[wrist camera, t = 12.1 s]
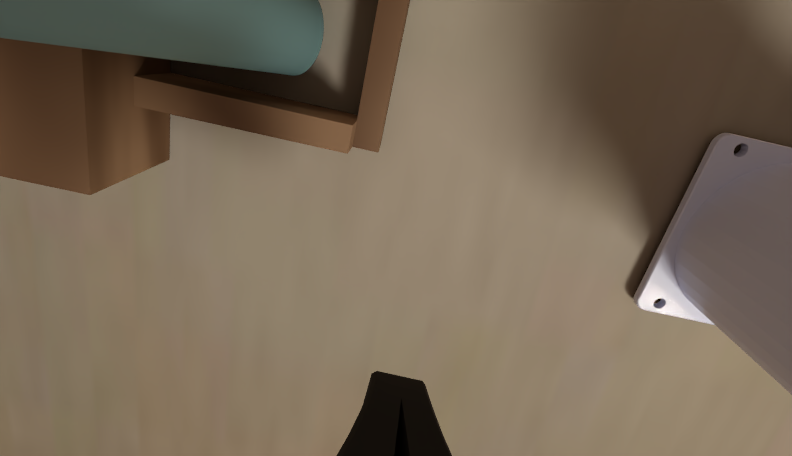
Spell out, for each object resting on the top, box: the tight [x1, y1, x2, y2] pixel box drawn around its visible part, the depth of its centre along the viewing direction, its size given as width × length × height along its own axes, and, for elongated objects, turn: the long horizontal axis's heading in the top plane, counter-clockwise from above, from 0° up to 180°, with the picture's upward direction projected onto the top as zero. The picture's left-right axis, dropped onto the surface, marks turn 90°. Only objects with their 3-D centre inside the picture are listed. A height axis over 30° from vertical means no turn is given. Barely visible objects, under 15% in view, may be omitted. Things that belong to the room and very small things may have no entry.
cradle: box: [0, 0, 410, 195], centre depth 14 cm, size 12×12×5 cm
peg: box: [0, 0, 324, 76], centre depth 12 cm, size 3×3×8 cm
